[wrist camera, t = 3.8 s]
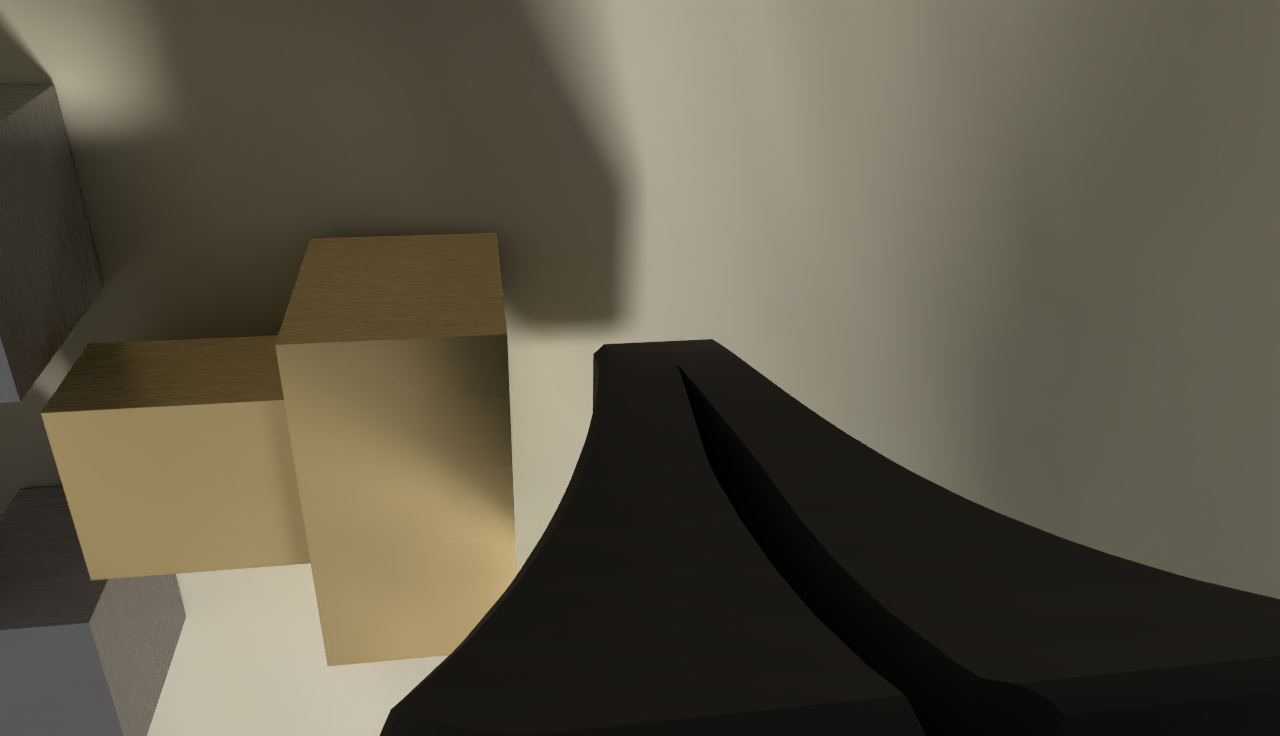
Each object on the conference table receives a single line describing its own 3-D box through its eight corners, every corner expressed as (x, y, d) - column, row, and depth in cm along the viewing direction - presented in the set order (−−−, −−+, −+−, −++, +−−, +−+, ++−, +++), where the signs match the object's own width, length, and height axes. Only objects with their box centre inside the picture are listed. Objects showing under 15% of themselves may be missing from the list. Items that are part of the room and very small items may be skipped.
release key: (496, 233, 11) (507, 334, 9) (509, 509, 13) (519, 648, 11) (82, 245, 11) (-12, 358, 8) (156, 534, 12) (92, 688, 10)
